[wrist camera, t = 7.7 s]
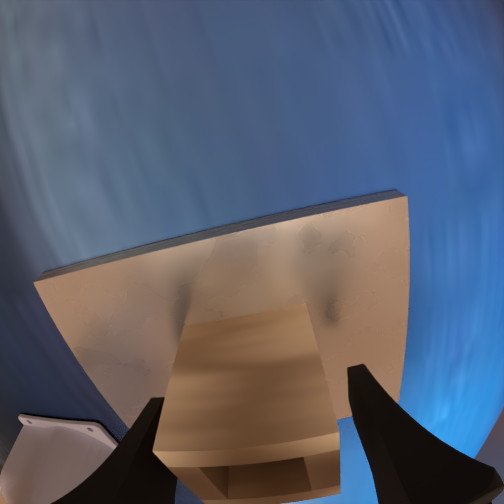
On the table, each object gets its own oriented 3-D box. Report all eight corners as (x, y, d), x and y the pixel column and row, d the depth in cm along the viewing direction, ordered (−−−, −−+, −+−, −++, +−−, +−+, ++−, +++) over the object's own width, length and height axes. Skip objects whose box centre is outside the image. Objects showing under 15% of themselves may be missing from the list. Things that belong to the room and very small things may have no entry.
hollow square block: (218, 401, 14) (210, 507, 9) (183, 326, 12) (152, 451, 7) (317, 385, 14) (340, 493, 9) (305, 303, 12) (339, 432, 7)
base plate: (142, 429, 17) (126, 494, 13) (43, 272, 13) (-19, 336, 8) (393, 390, 16) (421, 459, 11) (396, 189, 11) (475, 239, 7)
